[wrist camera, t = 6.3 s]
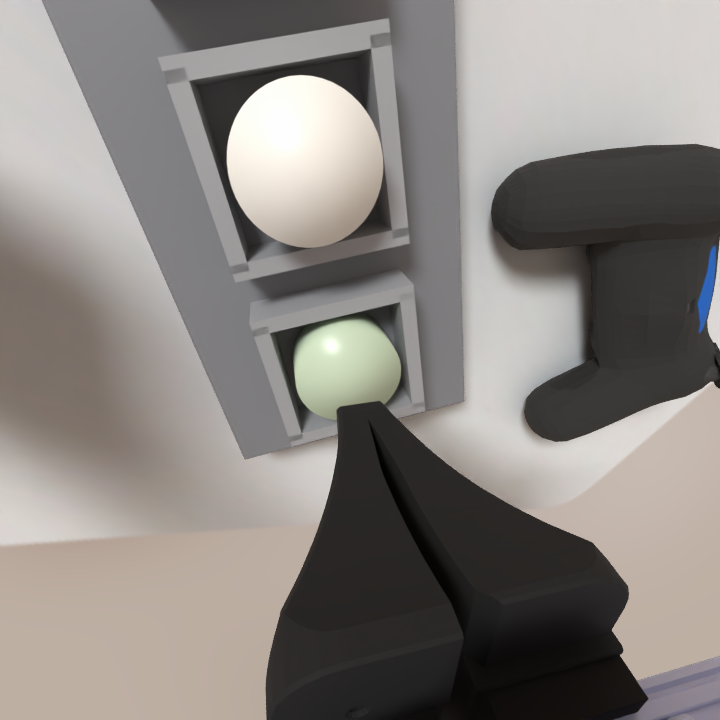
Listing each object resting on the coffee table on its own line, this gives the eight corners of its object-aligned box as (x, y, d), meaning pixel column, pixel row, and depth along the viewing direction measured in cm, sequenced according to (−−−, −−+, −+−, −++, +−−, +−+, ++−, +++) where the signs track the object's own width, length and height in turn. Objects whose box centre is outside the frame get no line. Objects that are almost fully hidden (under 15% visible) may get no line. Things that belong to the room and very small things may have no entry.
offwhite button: (255, 244, 14) (254, 261, 12) (210, 96, 12) (201, 92, 10) (376, 218, 14) (391, 231, 13) (356, 69, 12) (371, 61, 10)
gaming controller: (527, 391, 30) (700, 384, 25) (528, 454, 25) (734, 458, 21) (490, 154, 21) (748, 76, 16) (481, 191, 16) (824, 100, 12)
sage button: (305, 404, 19) (309, 431, 17) (281, 323, 17) (283, 345, 15) (393, 381, 20) (406, 406, 18) (382, 299, 17) (394, 318, 16)
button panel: (246, 428, 23) (243, 489, 19) (-112, -434, 9) (-383, -839, 5) (446, 376, 24) (480, 424, 20) (401, -462, 10) (485, -812, 6)
